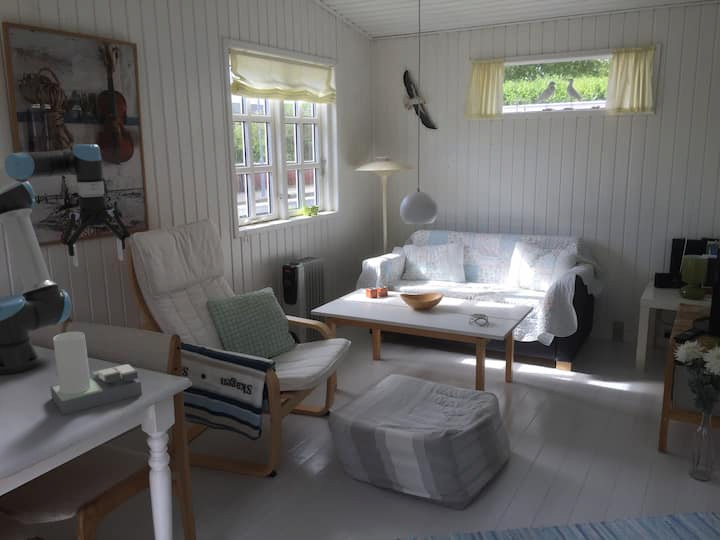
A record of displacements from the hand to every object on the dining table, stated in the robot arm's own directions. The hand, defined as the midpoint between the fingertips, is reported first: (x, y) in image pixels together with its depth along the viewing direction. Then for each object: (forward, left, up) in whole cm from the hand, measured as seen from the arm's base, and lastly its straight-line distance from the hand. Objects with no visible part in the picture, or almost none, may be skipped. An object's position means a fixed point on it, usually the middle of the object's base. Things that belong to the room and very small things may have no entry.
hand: (98, 262), depth 199 cm
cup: (+18, -15, -32) cm, 40 cm away
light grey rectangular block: (+15, -6, -31) cm, 35 cm away
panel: (+17, -9, -37) cm, 41 cm away
